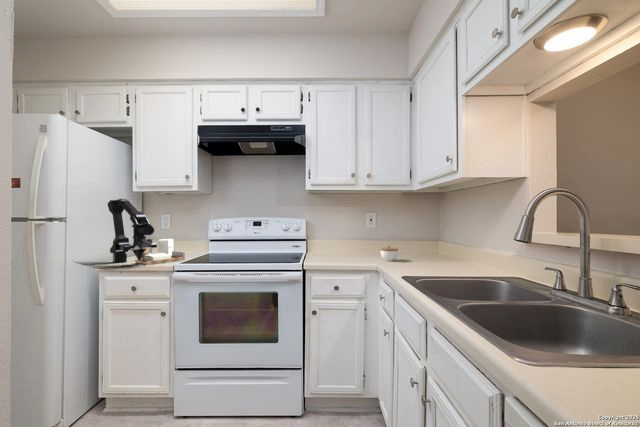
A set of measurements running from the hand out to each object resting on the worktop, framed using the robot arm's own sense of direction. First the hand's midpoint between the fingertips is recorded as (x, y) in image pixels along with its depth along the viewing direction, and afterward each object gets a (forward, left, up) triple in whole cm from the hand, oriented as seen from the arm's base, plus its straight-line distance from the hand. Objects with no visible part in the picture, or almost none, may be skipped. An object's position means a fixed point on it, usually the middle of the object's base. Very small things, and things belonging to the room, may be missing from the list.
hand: (139, 260), depth 183 cm
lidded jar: (+97, -118, -2) cm, 153 cm away
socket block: (+11, 0, -1) cm, 11 cm away
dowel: (+10, +15, -2) cm, 18 cm away
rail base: (+13, 0, -2) cm, 13 cm away
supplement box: (+25, +17, -2) cm, 30 cm away
